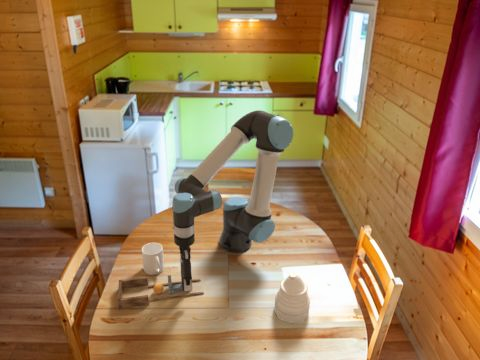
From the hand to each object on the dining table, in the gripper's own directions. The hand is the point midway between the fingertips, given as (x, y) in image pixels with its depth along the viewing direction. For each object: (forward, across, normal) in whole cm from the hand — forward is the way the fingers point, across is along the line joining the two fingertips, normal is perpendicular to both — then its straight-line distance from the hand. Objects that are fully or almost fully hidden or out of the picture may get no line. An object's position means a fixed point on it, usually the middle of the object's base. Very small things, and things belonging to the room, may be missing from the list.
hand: (186, 278), depth 156 cm
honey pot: (+5, +20, +37) cm, 42 cm away
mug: (+5, -14, -12) cm, 19 cm away
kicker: (+5, 0, -2) cm, 5 cm away
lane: (+5, 0, -5) cm, 7 cm away
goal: (+5, 0, -20) cm, 21 cm away
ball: (+3, 0, -11) cm, 11 cm away
